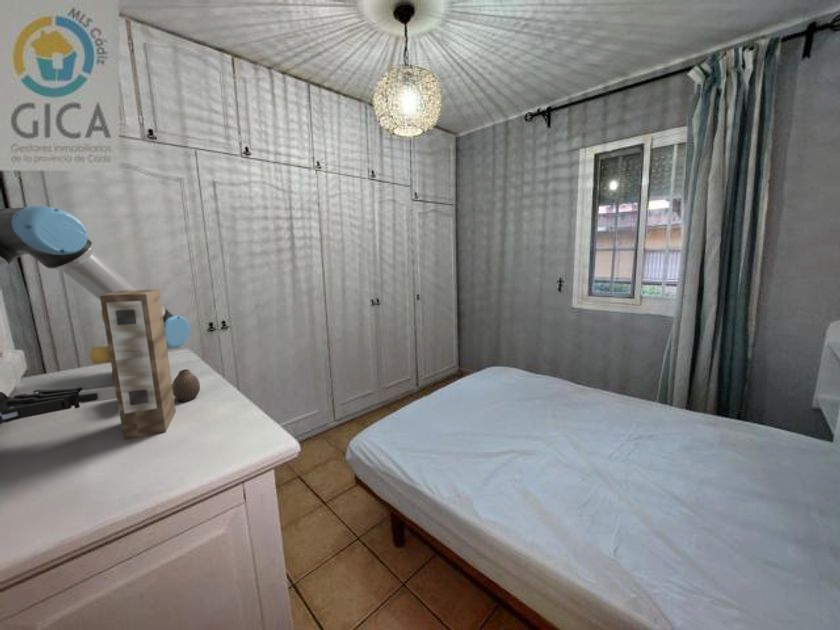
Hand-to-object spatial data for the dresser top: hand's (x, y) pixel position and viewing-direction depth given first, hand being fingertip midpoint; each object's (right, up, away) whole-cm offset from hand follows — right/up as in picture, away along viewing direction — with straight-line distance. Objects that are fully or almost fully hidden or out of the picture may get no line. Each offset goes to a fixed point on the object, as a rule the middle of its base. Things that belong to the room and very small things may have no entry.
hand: (116, 392), depth 81 cm
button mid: (-1, +7, -2) cm, 8 cm away
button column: (+5, -9, +4) cm, 11 cm away
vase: (+3, -7, +20) cm, 22 cm away
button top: (+2, +17, -2) cm, 17 cm away
